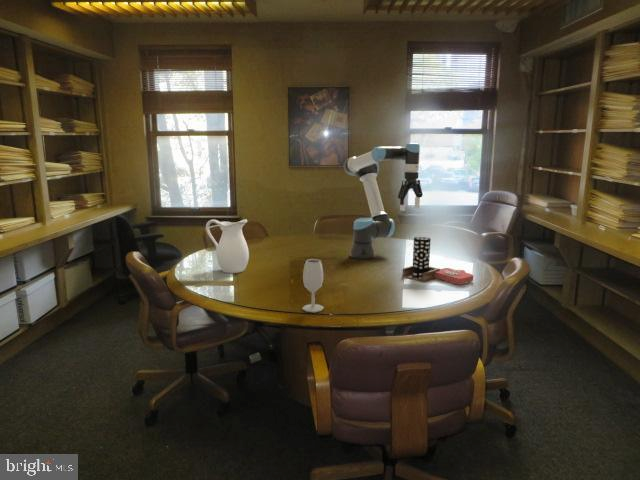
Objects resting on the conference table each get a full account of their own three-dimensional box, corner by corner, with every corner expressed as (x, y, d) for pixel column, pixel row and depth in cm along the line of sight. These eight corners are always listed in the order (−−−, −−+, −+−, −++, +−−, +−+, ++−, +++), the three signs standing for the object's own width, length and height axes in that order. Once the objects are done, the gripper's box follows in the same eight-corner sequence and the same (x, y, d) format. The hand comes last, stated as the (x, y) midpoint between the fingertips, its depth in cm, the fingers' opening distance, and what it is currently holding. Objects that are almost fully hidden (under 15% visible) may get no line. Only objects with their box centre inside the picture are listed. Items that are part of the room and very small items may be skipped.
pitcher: (254, 268, 263) (253, 218, 257) (239, 276, 247) (238, 223, 242) (216, 264, 270) (214, 216, 265) (200, 271, 255) (197, 220, 249)
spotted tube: (428, 278, 243) (430, 240, 239) (412, 277, 245) (413, 239, 241) (428, 274, 251) (430, 237, 247) (412, 273, 253) (414, 236, 249)
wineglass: (310, 304, 205) (310, 257, 201) (327, 308, 200) (328, 260, 196) (298, 310, 198) (298, 261, 194) (315, 314, 193) (315, 264, 189)
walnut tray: (402, 276, 248) (402, 268, 247) (417, 272, 258) (418, 264, 257) (423, 282, 239) (424, 273, 238) (439, 277, 248) (439, 268, 247)
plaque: (478, 273, 241) (460, 278, 232) (478, 280, 241) (459, 285, 233) (450, 265, 255) (431, 270, 246) (449, 272, 255) (431, 277, 247)
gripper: (403, 172, 253) (401, 212, 257) (430, 171, 270) (428, 208, 274) (392, 172, 258) (390, 210, 263) (419, 170, 275) (417, 206, 279)
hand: (409, 209), depth 268 cm, fingers open, 13 cm apart
